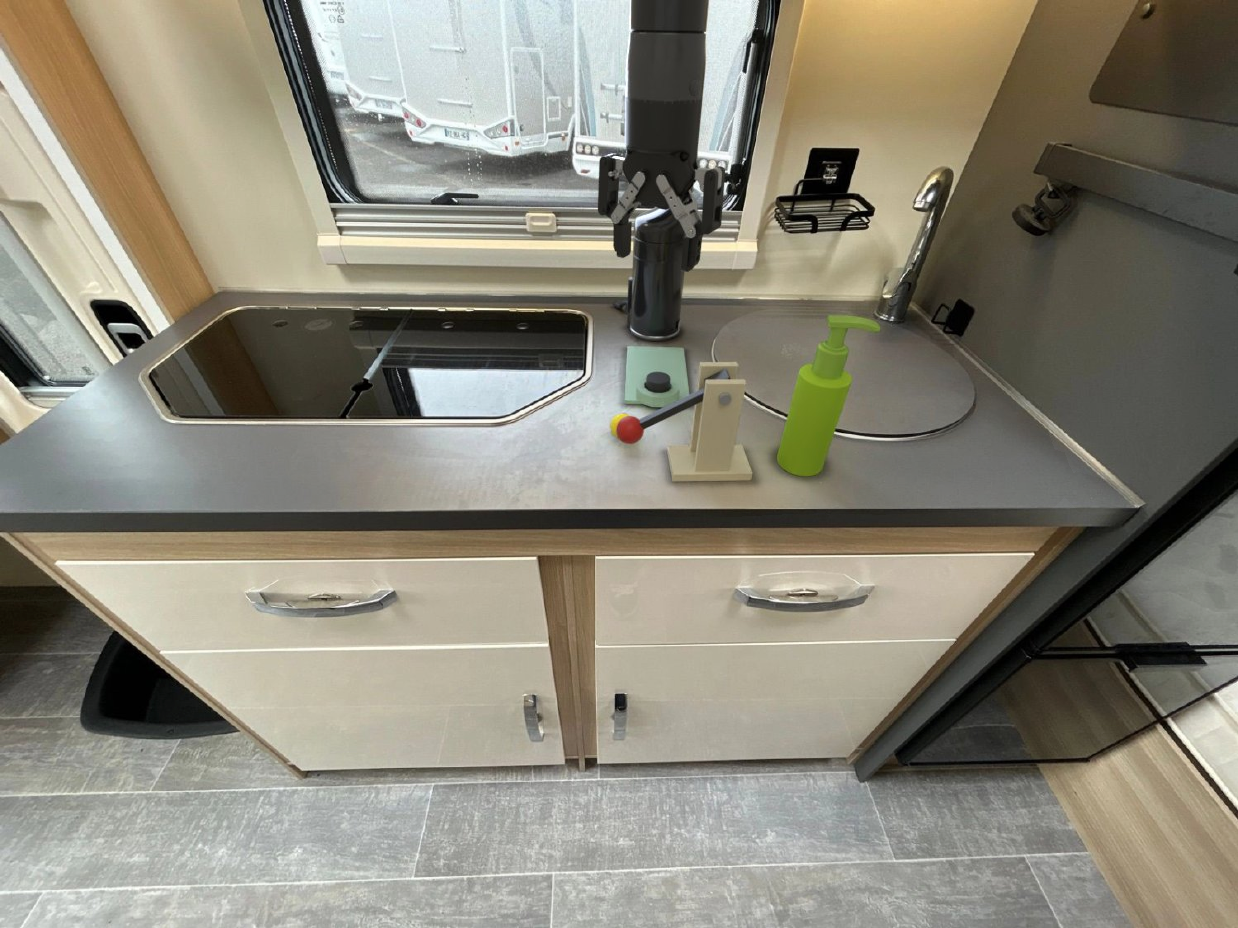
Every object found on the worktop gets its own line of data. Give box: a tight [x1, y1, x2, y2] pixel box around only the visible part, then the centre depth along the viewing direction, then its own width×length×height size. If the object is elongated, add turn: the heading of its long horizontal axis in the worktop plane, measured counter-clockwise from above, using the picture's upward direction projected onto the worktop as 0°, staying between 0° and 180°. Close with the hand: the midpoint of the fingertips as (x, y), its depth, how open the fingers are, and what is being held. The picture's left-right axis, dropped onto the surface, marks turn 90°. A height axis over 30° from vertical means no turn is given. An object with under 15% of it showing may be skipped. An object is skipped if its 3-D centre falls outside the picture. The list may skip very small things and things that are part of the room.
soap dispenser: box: [776, 314, 882, 477], centre depth 63 cm, size 6×7×20 cm
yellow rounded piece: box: [609, 413, 630, 439], centre depth 73 cm, size 3×6×4 cm, turn 175°
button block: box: [623, 345, 690, 408], centre depth 85 cm, size 20×10×2 cm, turn 178°
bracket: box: [666, 361, 753, 483], centre depth 64 cm, size 10×6×14 cm, turn 92°
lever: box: [616, 369, 731, 445], centre depth 62 cm, size 15×3×3 cm
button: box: [646, 372, 671, 393], centre depth 79 cm, size 4×4×2 cm
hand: (654, 262), depth 61 cm, fingers open, 8 cm apart
